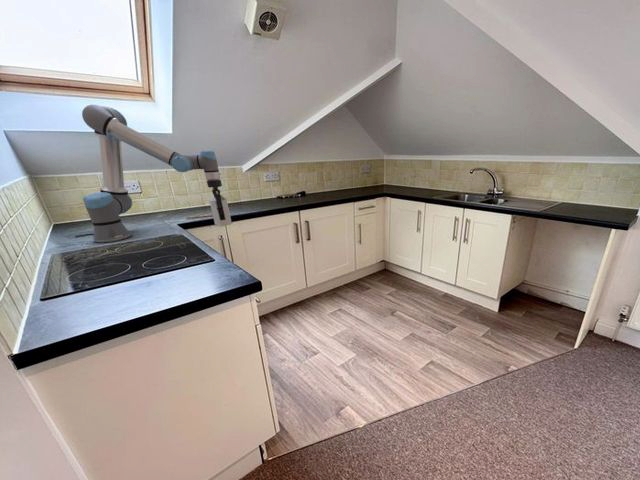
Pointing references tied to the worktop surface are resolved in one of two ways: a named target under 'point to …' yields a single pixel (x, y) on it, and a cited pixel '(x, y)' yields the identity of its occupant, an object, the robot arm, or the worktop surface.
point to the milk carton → (216, 212)
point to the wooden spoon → (200, 216)
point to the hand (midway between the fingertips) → (222, 218)
